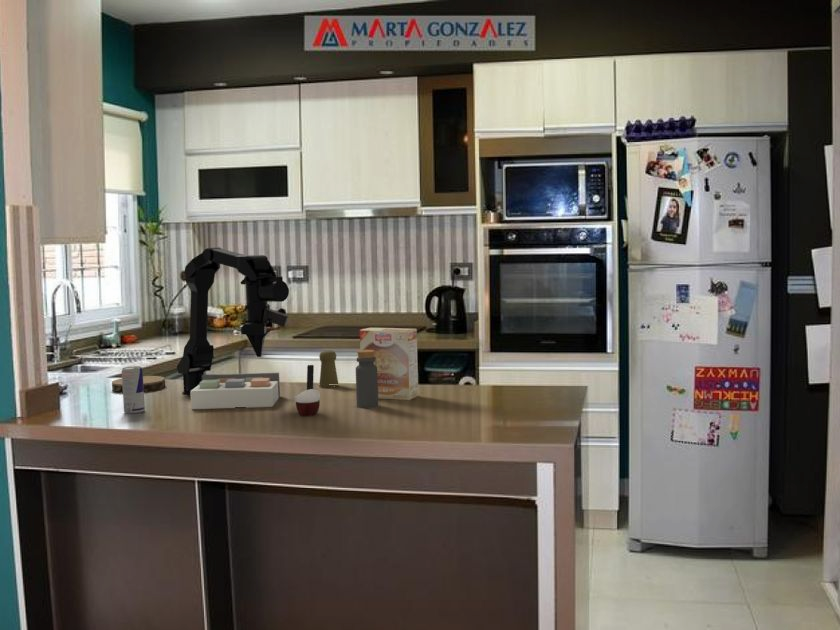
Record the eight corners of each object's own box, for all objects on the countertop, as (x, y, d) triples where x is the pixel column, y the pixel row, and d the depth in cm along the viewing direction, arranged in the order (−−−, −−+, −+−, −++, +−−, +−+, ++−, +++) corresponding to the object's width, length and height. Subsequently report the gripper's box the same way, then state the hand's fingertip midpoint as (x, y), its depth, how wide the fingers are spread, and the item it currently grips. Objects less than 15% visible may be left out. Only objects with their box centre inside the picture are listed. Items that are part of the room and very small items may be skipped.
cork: (340, 384, 260) (339, 349, 259) (336, 387, 254) (335, 351, 253) (321, 384, 261) (320, 349, 260) (317, 387, 255) (315, 352, 254)
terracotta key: (251, 395, 231) (250, 381, 230) (254, 392, 235) (253, 378, 235) (267, 394, 231) (267, 380, 230) (270, 391, 235) (269, 377, 235)
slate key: (225, 396, 230) (225, 381, 230) (229, 393, 235) (228, 379, 235) (242, 395, 231) (241, 381, 230) (245, 392, 235) (244, 378, 235)
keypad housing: (191, 409, 227) (189, 383, 226) (203, 398, 242) (202, 374, 241) (272, 406, 227) (271, 381, 227) (280, 396, 242) (279, 372, 242)
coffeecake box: (360, 398, 237) (358, 329, 235) (371, 393, 243) (369, 327, 242) (409, 400, 231) (407, 330, 229) (419, 395, 238) (417, 327, 236)
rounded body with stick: (308, 419, 212) (307, 373, 210) (288, 417, 214) (286, 371, 213) (329, 410, 220) (327, 366, 218) (309, 408, 223) (308, 364, 221)
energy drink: (149, 410, 227) (146, 366, 226) (136, 414, 222) (133, 369, 221) (132, 409, 229) (130, 366, 228) (119, 413, 224) (117, 369, 223)
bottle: (382, 404, 227) (380, 349, 225) (372, 408, 221) (370, 352, 220) (363, 403, 229) (361, 349, 228) (352, 407, 224) (350, 351, 222)
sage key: (200, 396, 230) (199, 382, 230) (204, 393, 235) (203, 379, 234) (217, 396, 230) (216, 382, 230) (220, 393, 235) (219, 379, 235)
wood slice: (163, 392, 256) (162, 382, 256) (108, 395, 253) (107, 385, 252) (167, 383, 271) (167, 374, 271) (116, 386, 268) (115, 377, 268)
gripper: (281, 302, 222) (283, 360, 223) (290, 297, 240) (292, 351, 242) (239, 303, 221) (242, 362, 223) (251, 298, 240) (253, 352, 241)
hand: (259, 356), depth 232 cm, fingers closed
